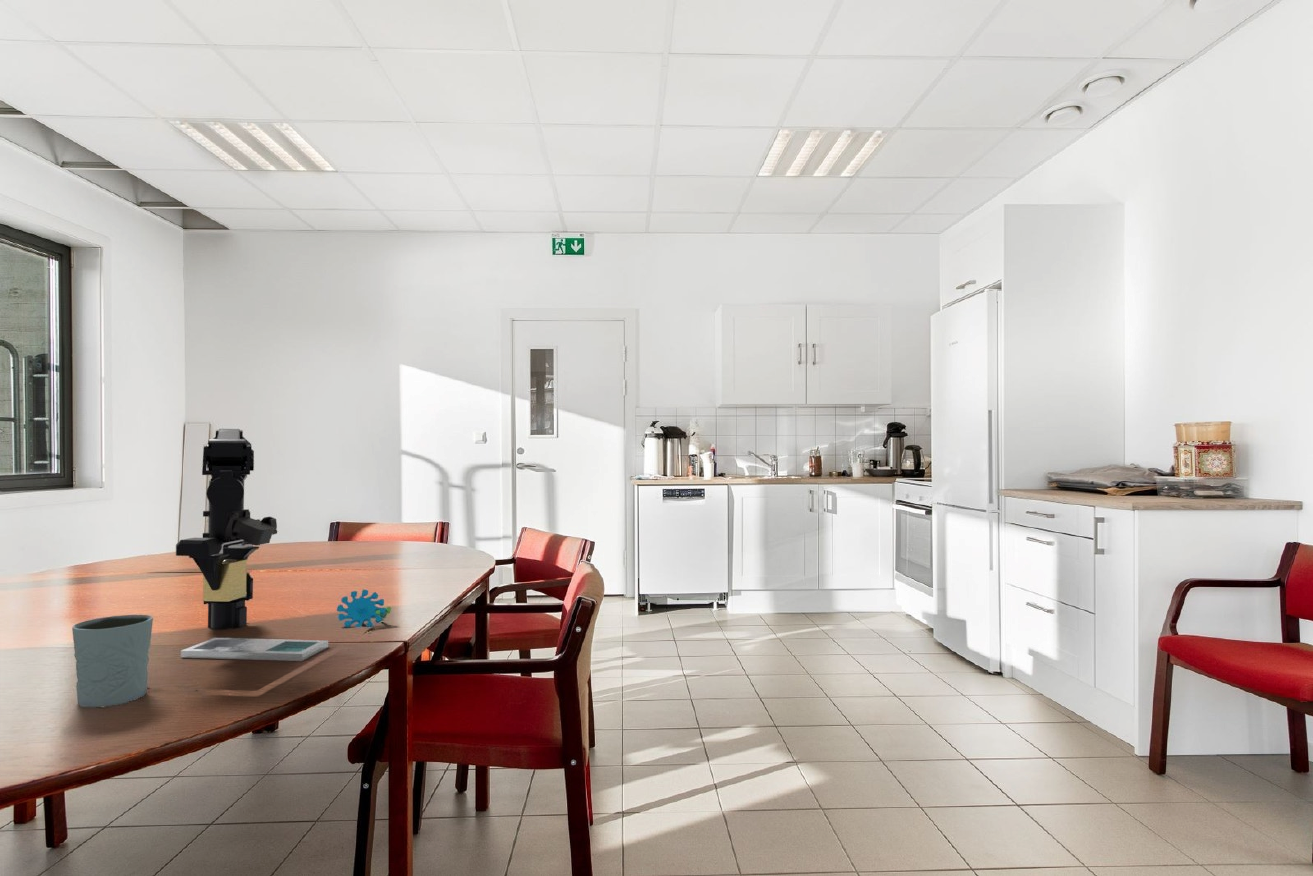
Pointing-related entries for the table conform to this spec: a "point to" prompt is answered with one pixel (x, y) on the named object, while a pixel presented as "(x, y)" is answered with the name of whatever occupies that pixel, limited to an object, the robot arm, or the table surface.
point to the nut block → (228, 582)
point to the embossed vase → (112, 659)
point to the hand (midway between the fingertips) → (225, 587)
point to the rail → (255, 649)
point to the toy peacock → (362, 609)
